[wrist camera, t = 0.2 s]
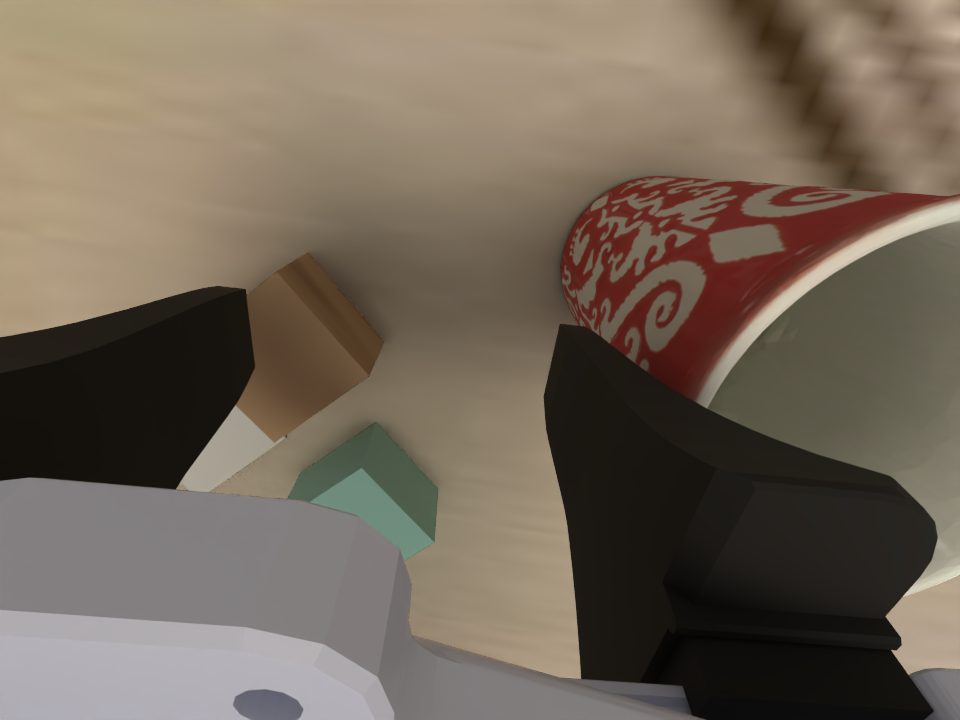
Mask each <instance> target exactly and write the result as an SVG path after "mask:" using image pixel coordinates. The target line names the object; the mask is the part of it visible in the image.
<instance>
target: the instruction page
mask: <svg viewBox="0 0 960 720" xmlns="http://www.w3.org/2000/svg"><path fill="white" fill-rule="evenodd" d="M286 437H287V436H286V435H285V436H283V437H282V438H280V439H279V440H278V441H276V442H275V443H274V442H273V441H272V440H271V439H270V438H269V437H268V436H267V435H266V434H265V433H264V432H263V431H262V430H261V429H259V428H258V427H257V426H256V425H255V424H254V423H253V422H252V421H251V420H250V419H249V418H248V417H247V416H246V415H245V414H244V413H243V412H242V411H241V410H240V409H239V408H238V407H237V406H236V405H235V407H234V408H233V410H232V411H231V412H230V414H229V415H228V417H227V418H226V419H225V421H224V422H223V424H222V425H221V426H220V428H219V429H218V431H217V432H216V433H215V435H214V436H213V437H212V439H211V440H210V441H209V443H208V444H207V446H206V447H205V448H204V450H203V451H202V452H201V454H200V455H199V457H198V458H197V459H196V461H195V462H194V463H193V465H192V466H191V467H190V469H189V470H188V472H187V473H186V474H185V476H184V477H183V479H182V481H181V482H180V483H181V484H183V485H184V486H185V487H186V488H187V489H188V490H190V491H198V492H210V491H211V490H213V489H214V488H215V487H217V486H218V485H220V484H221V483H223V482H224V481H225V480H227V479H228V478H230V477H231V476H233V475H234V474H235V473H237V472H238V471H240V470H241V469H242V468H244V467H245V466H247V465H248V464H250V463H251V462H252V461H254V460H255V459H257V458H258V457H260V456H261V455H262V454H264V453H265V452H267V451H268V450H270V449H271V448H272V447H274V446H275V445H277V444H278V443H280V442H281V441H282V440H284V439H285V438H286Z"/></svg>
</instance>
